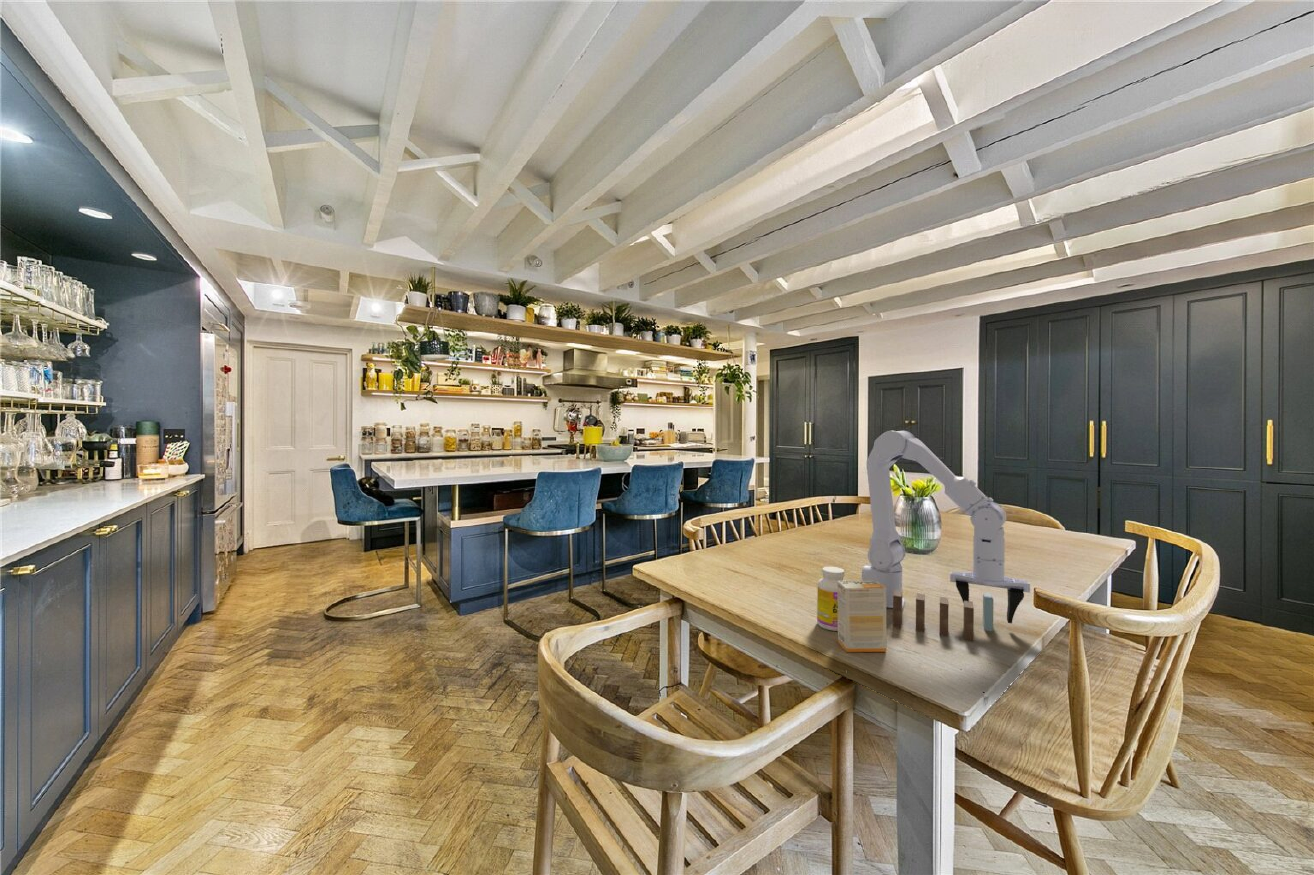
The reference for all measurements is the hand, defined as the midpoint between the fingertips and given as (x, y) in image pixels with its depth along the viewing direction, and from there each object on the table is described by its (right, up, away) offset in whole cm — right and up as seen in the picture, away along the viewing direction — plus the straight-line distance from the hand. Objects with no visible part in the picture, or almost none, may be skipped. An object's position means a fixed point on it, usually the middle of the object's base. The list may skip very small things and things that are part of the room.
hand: (988, 618), depth 106 cm
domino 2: (-15, -2, 0) cm, 15 cm away
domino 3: (-11, -2, -2) cm, 12 cm away
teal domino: (0, -2, 0) cm, 2 cm away
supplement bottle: (-35, -2, +1) cm, 35 cm away
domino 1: (-19, -2, +2) cm, 19 cm away
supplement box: (-33, -3, -10) cm, 34 cm away
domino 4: (-8, -2, -5) cm, 9 cm away
